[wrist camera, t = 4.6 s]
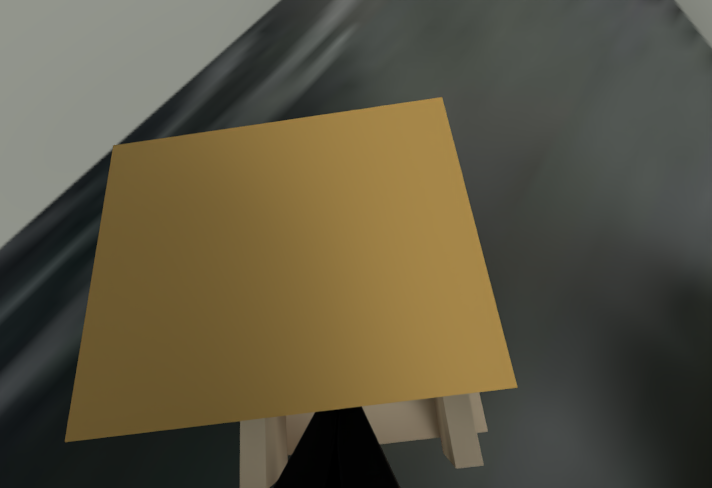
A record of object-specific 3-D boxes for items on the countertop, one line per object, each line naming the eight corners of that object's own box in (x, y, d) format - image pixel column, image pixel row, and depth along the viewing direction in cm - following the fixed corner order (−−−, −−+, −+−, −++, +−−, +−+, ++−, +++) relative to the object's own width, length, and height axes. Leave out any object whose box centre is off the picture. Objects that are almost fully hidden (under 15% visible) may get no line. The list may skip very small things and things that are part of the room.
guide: (480, 441, 14) (534, 473, 9) (255, 467, 14) (183, 513, 9) (432, 213, 18) (450, 145, 13) (253, 238, 18) (200, 180, 13)
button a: (423, 384, 13) (517, 387, 4) (291, 400, 13) (64, 442, 4) (405, 280, 15) (442, 97, 5) (286, 296, 15) (112, 145, 5)
